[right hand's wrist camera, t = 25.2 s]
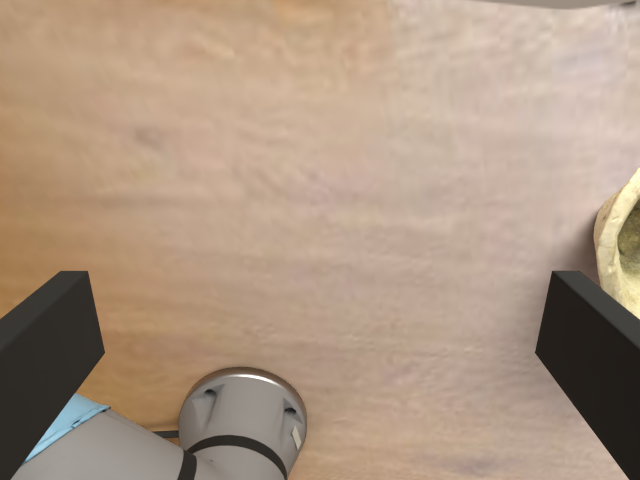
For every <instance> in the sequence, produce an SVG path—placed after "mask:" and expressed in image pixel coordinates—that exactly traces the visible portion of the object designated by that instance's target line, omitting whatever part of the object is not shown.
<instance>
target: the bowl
mask: <svg viewBox="0 0 640 480" xmlns="http://www.w3.org/2000/svg"><path fill="white" fill-rule="evenodd" d="M594 243H595V251H596V259H597V269H598V275H599V280H600V284H601V288H602V290H604V291H605V292H606V293H607V294H609V295H610V296H611V297H612V298H614V299H615V300H616V301H617V302H619V303H620V304H621V305H622V306H624V307H625V308H626V309H627V310H629V311H630V312H631V313H632V314H634V315H635V316H636V317H637V318H639V319H640V167H639V168H638V170H637V171H636V172H635V174H634V175H633V177H632V178H631V179H630V180H629V181H628V182H627V184H626V185H625V186H624V187H623V188H621V189H620V191H619V192H617V193H616V194H615V195H613V196H612V197H611V198H610V199H609V200H607V201H606V202H605V204H604V205H603V206H602V208H601V209H600V211H599V212H598V215H597V219H596V222H595V226H594Z"/></svg>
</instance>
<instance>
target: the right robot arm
mask: <svg viewBox="0 0 640 480" xmlns="http://www.w3.org/2000/svg"><path fill="white" fill-rule="evenodd" d="M104 353H105V351H104V346H103V341H102V336H101V332H100V327H99V322H98V317H97V313H96V308H95V303H94V298H93V294H92V289H91V284H90V279H89V274H88V271H60V272H59V273H58V274H56V275H55V276H54V277H53V278H51V279H50V280H49V281H48V282H46V283H45V284H44V285H43V286H41V287H40V288H39V289H38V290H36V291H35V292H34V293H33V294H31V295H30V296H29V297H28V298H26V299H25V300H24V301H23V302H21V303H20V304H19V305H18V306H16V307H15V308H14V309H13V310H11V311H10V312H9V313H8V314H6V315H5V316H4V317H3V318H1V319H0V480H287V478H288V476H289V474H290V472H291V470H292V467H293V465H294V463H295V461H296V459H297V457H298V455H299V453H300V450H301V448H302V446H303V443H304V441H305V437H306V426H307V414H306V409H305V406H304V403H303V401H302V399H301V397H300V396H299V394H298V393H297V392H296V390H295V389H294V388H293V387H292V386H291V385H290V384H288V383H287V382H286V381H285V380H283V379H282V378H280V377H278V376H276V375H274V374H272V373H270V372H267V371H264V370H260V369H255V368H248V367H233V368H226V369H222V370H219V371H216V372H213V373H211V374H209V375H207V376H205V377H204V378H202V379H201V380H199V381H198V382H197V383H196V384H195V385H194V386H193V387H192V388H191V390H190V391H189V393H188V394H187V396H186V398H185V401H184V403H183V406H182V408H181V411H180V415H179V430H178V431H156V432H151V431H149V430H147V429H145V428H143V427H141V426H140V425H138V424H136V423H134V422H133V421H131V420H129V419H127V418H125V417H124V416H122V415H120V414H118V413H116V412H115V411H113V410H111V407H109V406H108V405H101V404H98V403H96V402H94V401H92V400H89V399H87V398H85V397H83V396H81V395H79V394H77V393H75V392H76V391H77V390H78V388H79V387H80V386H81V384H82V383H83V382H84V380H85V379H86V378H87V376H88V375H89V374H90V372H91V371H92V369H93V368H94V367H95V365H96V364H97V363H98V361H99V360H100V359H101V357H102V356H103V355H104ZM535 353H536V355H537V356H538V357H539V359H540V360H541V361H542V363H543V364H544V365H545V367H546V368H547V369H548V371H549V372H550V374H551V375H552V376H553V378H554V379H555V380H556V382H557V383H558V384H559V386H560V387H561V388H562V390H563V391H564V392H565V394H566V395H567V396H568V398H569V399H570V400H571V402H572V403H573V404H574V406H575V407H576V409H577V410H578V411H579V413H580V414H581V415H582V417H583V418H584V419H585V421H586V422H587V423H588V425H589V426H590V427H591V429H592V430H593V431H594V433H595V434H596V435H597V437H598V438H599V439H600V441H601V442H602V444H603V445H604V446H605V448H606V449H607V450H608V452H609V453H610V454H611V456H612V457H613V458H614V460H615V461H616V462H617V464H618V465H619V466H620V468H621V469H622V470H623V472H624V473H625V475H626V476H627V477H628V479H629V480H640V319H639V318H637V317H636V316H635V315H634V314H632V313H631V312H630V311H629V310H627V309H626V308H625V307H624V306H622V305H621V304H620V303H619V302H617V301H616V300H615V299H614V298H612V297H611V296H610V295H609V294H607V293H606V292H605V291H604V290H602V289H601V288H600V287H599V286H597V285H596V284H595V283H594V282H592V281H591V280H590V279H589V278H587V277H586V276H585V275H584V274H582V273H581V272H580V271H552V274H551V279H550V284H549V289H548V294H547V298H546V303H545V308H544V313H543V317H542V322H541V327H540V332H539V336H538V341H537V346H536V351H535ZM178 437H179V446H177V445H175V444H173V443H171V442H170V441H168V440H166V439H164V438H178Z"/></svg>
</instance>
